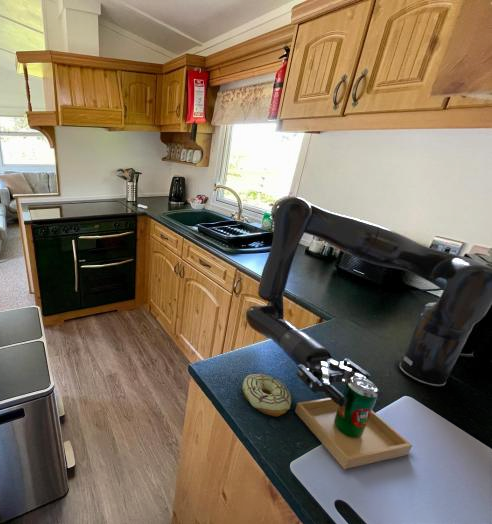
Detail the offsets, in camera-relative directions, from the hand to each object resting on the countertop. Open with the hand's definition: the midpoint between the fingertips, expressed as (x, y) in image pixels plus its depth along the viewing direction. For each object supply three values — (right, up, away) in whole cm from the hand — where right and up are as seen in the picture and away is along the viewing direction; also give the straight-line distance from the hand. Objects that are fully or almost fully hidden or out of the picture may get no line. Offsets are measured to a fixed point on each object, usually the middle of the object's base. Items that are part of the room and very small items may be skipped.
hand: (362, 400), depth 58 cm
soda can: (-1, -8, +4) cm, 9 cm away
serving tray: (-1, -8, +4) cm, 9 cm away
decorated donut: (-15, -5, +11) cm, 19 cm away
